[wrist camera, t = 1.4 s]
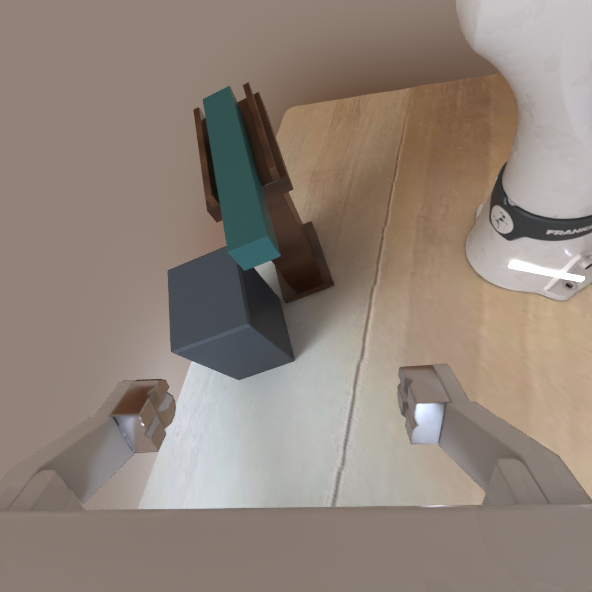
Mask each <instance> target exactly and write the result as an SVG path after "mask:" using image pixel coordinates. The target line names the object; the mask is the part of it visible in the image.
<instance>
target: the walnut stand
mask: <svg viewBox="0 0 592 592" xmlns="http://www.w3.org/2000/svg"><path fill="white" fill-rule="evenodd" d="M243 87H244V91H245V94H246V98H245V99H243V100H242V101H239V102H238V104H239V106H240V109H241V111H242V115H243V118H244V122H245V126H246V130H247V133H248V137H249V141H250V144H251V148H252V152H253V155H254V159H255V163H256V166H257V170H258V174H259V177H260V181H261V185H262V188H263V192H264V196H265V199H266V203H267V207H268V210H269V214H270V218H271V221H272V225H273V229H274V232H275V236H276V240H277V243H278V247H279V251H280V255H281V256H280V257H278V258H275V259H273V260H271V261H272V262H273V264H274V265H275V268H276V272H277V276H278V280H279V284H280V288H281V291H282V295H283V299H284V301H285V302H286V303H288V302H291V301H294V300H296V299H299V298H302V297H304V296H307V295H310V294H313V293H315V292H318V291H321V290H323V289H326V288H329V287H331V286H334V282H333V280H332V277H331V274H330V271H329V268H328V266H327V263H326V260H325V257H324V255H323V252H322V249H321V246H320V243H319V241H318V238H317V235H316V232H315V230H314V227H313V224H312V222H309V223H306V224H304V225H303V223H302V221H301V219H300V217H299V215H298V212H297V210H296V208H295V206H294V203H293V201H292V199H291V197H290V194H289V191H291V190H293V187H292V184H291V181H290V178H289V175H288V172H287V169H286V166H285V163H284V160H283V158H282V155H281V152H280V149H279V146H278V143H277V140H276V137H275V134H274V131H273V129H272V126H271V123H270V120H269V117H268V114H267V111H266V108H265V105H264V103H263V101H262V98H261V96H260V93H259V92H258V93H256V94H253V91H252V89H251V87H250V84H249V83H246V84H244V85H243ZM194 117H195V125H196V132H197V140H198V147H199V155H200V162H201V170H202V177H203V184H204V192H205V198H206V206H207V211H208V212H209V214H210V215H211V216H212V217H213V218H214V220H215V221H216V222H219V221H222V220H223V219H222V213H221V207H220V201H219V195H218V189H217V183H216V177H215V171H214V165H213V159H212V153H211V147H210V141H209V135H208V128H207V122H206V118H205V116H204V115H203V113H202V112H201V110H200V108H199V107H198V108H196V109H194Z"/></svg>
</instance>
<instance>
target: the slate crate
mask: <svg viewBox="0 0 592 592" xmlns="http://www.w3.org/2000/svg"><path fill="white" fill-rule="evenodd" d="M168 292H169V314H170V315H169V317H170V342H171V352H172V353H175V354H177V355H179V356H182V357H184V358H187V359H189V360H191V361H194V362H196V363H199V364H201V365H204V366H206V367H208V368H211V369H213V370H216V371H218V372H221V373H223V374H225V375H228V376H230V377H233V378H235V379H238V380H240V379H243V378H246V377H249V376H252V375H255V374H258V373H261V372H264V371H267V370H270V369H273V368H276V367H278V366H281V365H284V364H287V363H290V362H293V361H294V357H293V353H292V349H291V344H290V340H289V336H288V332H287V328H286V324H285V320H284V316H283V312H282V308H281V304H280V300H279V298H278V296H277V295H276V294H275V293H274V292H273V290H272V289H271V288H270V287H269V286H268V284H267V283H266V282H265V281H264V280H263V278H262V277H261V276H260V275H259V274H258V272H257V271H256V270H255V269H254V267H253V268H250V269H248V270H245V271H244V270H243V269H242V268H241V266H240V265H239V264H238V263H237V262H236V261H235V260H234V259H233V258H232V256H231V255H230V254H229V253H228V249H227V246H225V247H223V248H220V249H218V250H216V251H213V252H211V253H208V254H206V255H204V256H201V257H199V258H196V259H194V260H192V261H189V262H187V263H184V264H182V265H179V266H177V267H175V268H172V269H170V270H168Z"/></svg>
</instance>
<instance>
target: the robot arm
mask: <svg viewBox="0 0 592 592" xmlns="http://www.w3.org/2000/svg"><path fill="white" fill-rule="evenodd" d="M456 9H457V16H458V21H459V24H460V28H461V30H462V33H463V35H464V37H465V39H466V41H467V42H468V44H469V46H470V47H471V48H472V49H473V51H475V52H476V53H478V54H480V55H481V56H483V57H484V58H485V59H487V60H488V61H489V62H491V63H492V64H493V65H494V66H495V67H496V68H497V69H498V70H499V71H500V72H501V74H502V75H503V76H504V77H505V79H506V80H507V82H508V84H509V85H510V87H511V89H512V91H513V93H514V96H515V99H516V102H517V107H518V123H517V129H516V133H515V138H514V141H513V145H512V149H511V152H510V155H509V158H508V161H507V162H506V163H505V164H504V166H503V167H502V169H501V170H500V172H499V175H498V176H497V178H496V180H495V184H494V185H493V187H492V189H491V191H490V193H489V195H488V197H487V199H486V201H485V203H482V204H480V205H479V207H478V209H477V211H476V218H475V225H474V226H473V228H472V230H471V231H470V233H469V235H468V237H467V240H466V254H467V258H468V260H469V262H470V264H471V266H472V267H473V268H474V270H475V271H476V272H477V273H478V274H479V275H480V276H482V277H483V278H484V279H486V280H487V281H489V282H491V283H493V284H495V285H497V286H500V287H502V288H506V289H510V290H515V291H524V292H534V293H539V294H541V295H544V296H546V297H549V298H552V299H555V300H560V301H564V300H567V299H569V298H571V297H572V296H574V295H575V294H577V293H578V292H580V291H581V290H582V289H584V288H585V287H587V286H588V285H590V284H591V283H592V0H456ZM566 285H569V286H570V287H571V288H568V287H566ZM398 376H399V379H400V382H401V383H400V384H399V385H398V391H397V394H398V403H399V408H400V411H401V414H402V415H403V416H404V417H405V418H406V421H405V427H406V430H407V434H408V437H409V440H410V443H411V444H439V446H440V447H441V448H442V449H443V450H444V451H445V452H446V453H447V454H448V455H449V456H450V457H451V458H452V459H453V460H454V461H455V462H456V463H457V464H458V465H459V466H460V467H461V468H462V469H463V470H464V471H465V472H466V473H467V474H468V475H469V476H470V477H471V478H472V479H473V480H474V481H475V482H476V483H477V484H478V485H479V486H480V487H481V488H482V489H483V490H484V491H485V492H486V494H485V497H484V500H483V503H482V505H444V506H367V507H295V508H218V509H140V510H87V509H86V508H85V506H84V505H83V504H84V503H85V502H86V501H87V500H88V499H89V498H91V496H92V495H94V494H95V493H96V492H97V490H99V489H100V488H101V487H102V486H103V485H104V484H105V483H106V482H107V481H108V480H109V479H110V478H111V477H112V476H113V475H114V474H115V473H116V472H117V471H118V470H119V469H120V468H121V467H122V466H123V465H124V464H125V463H126V462H127V461H128V460H129V459H130V458H131V457H132V456H133V455H134V453H145V452H158V451H159V449H160V447H161V445H162V442H163V440H164V438H165V436H166V432H165V428H166V427H167V426H169V425H170V424H171V423H172V421H173V418H174V416H175V410H176V404H175V400H174V397H173V396H172V395H171V394H169V393H168V392H167V391H168V389H169V385H168V383H167V381H166V380H163V379H154V380H153V379H151V380H125V381H122V382H120V383H119V384H118V385H117V386H116V388H115V389H114V390H113V392H112V393H111V394H110V396H109V397H108V398H107V400H106V401H105V403H104V404H103V405H102V407H101V408H100V409H99V411H98V412H97V413H96V415H95V416H94V417H93V418H88V419H87V420H85V421H83V422H82V423H80V424H79V425H77V426H76V427H74V428H73V429H71V430H70V431H68V432H67V433H65V434H64V435H62V436H61V437H59V438H58V439H56V440H55V441H53V442H51V443H50V444H48V445H47V446H45V447H44V448H42V449H41V450H39V451H38V452H36V453H35V454H33V455H32V456H30V457H29V458H28V459H26V460H24V461H23V462H21V463H20V464H18V465H17V466H15V467H14V468H12V469H11V470H10V471H9V472H8V473H7V474H6V476H4V478H3V479H2V480H1V481H0V592H592V500H591V498H590V497H589V496H588V494H587V493H586V492H585V490H584V489H583V488H582V486H581V485H580V484H579V482H578V481H577V480H576V478H575V477H574V475H573V474H572V473H571V471H570V470H569V469H568V467H567V466H566V465H565V463H564V462H563V461H562V459H561V458H560V457H559V456H558V455H557V454H555V453H554V452H552V451H551V450H549V449H548V448H546V447H544V446H543V445H541V444H540V443H538V442H537V441H535V440H534V439H532V438H531V437H529V436H527V435H526V434H524V433H523V432H521V431H520V430H518V429H517V428H515V427H514V426H512V425H510V424H509V423H507V422H506V421H504V420H503V419H501V418H500V417H498V416H497V415H495V414H493V413H492V412H490V411H489V410H487V409H486V408H484V407H483V406H481V405H480V404H478V403H477V402H470V400H469V399H468V397H467V395H466V393H465V392H464V390H463V388H462V386H461V385H460V383H459V381H458V380H457V378H456V376H455V374H454V373H453V371H452V369H451V367H450V366H449V365H448V364H435V365H422V366H405V367H400V368H399V375H398Z"/></svg>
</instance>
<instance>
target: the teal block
mask: <svg viewBox="0 0 592 592" xmlns="http://www.w3.org/2000/svg"><path fill="white" fill-rule="evenodd" d="M203 104H204V109H205V116H206V122H207V128H208V135H209V141H210V147H211V153H212V159H213V165H214V171H215V177H216V183H217V189H218V195H219V201H220V207H221V213H222V219H223V225H224V231H225V237H226V243H227V249H228V253H229V254H230V255H231V256H232V258H233V259H234V260H235V261H236V262H237V263H238V264H239V265H240V266H241V268H242V269H243V270H244V271H245V270H248V269H250V268H253V267H255V266H258V265H260V264H263V263H265V262H268V261H270V260H273V259H275V258H278V257H280V256H281V255H280V251H279V247H278V243H277V240H276V236H275V232H274V229H273V225H272V221H271V218H270V214H269V210H268V207H267V203H266V199H265V196H264V192H263V188H262V185H261V181H260V177H259V174H258V170H257V166H256V163H255V159H254V155H253V152H252V148H251V144H250V141H249V137H248V133H247V130H246V126H245V122H244V118H243V115H242V111H241V109H240V106H239V104H238V102H237V100H236V98H235V97H234V94H233V92H232V90H231V88H230V86H228V87H226V88H225V89H222V90H220V91H218V92H216V93H214V94H212V95H210V96H208V97H206V98H204V99H203Z"/></svg>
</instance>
